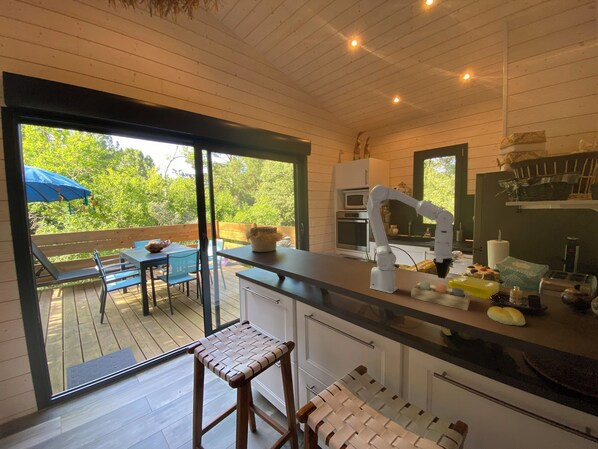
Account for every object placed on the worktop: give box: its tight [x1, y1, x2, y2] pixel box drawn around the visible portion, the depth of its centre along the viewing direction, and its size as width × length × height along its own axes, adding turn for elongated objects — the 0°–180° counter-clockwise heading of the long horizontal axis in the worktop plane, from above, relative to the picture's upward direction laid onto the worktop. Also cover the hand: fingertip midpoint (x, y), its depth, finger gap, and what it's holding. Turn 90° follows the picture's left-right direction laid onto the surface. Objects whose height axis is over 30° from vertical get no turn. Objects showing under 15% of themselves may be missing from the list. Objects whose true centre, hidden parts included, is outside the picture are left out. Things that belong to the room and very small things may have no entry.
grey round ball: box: [452, 288, 464, 297], centre depth 89 cm, size 4×4×4 cm
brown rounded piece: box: [435, 284, 447, 294], centre depth 93 cm, size 4×4×4 cm
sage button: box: [419, 281, 431, 291], centre depth 96 cm, size 4×4×4 cm
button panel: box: [410, 282, 471, 311], centre depth 93 cm, size 18×12×3 cm, turn 51°
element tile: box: [447, 274, 500, 300], centre depth 103 cm, size 15×15×5 cm
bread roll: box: [486, 305, 527, 327], centre depth 76 cm, size 8×9×4 cm
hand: (441, 277), depth 93 cm, fingers closed
